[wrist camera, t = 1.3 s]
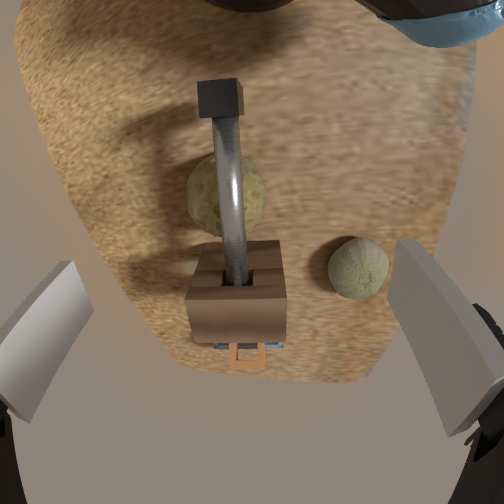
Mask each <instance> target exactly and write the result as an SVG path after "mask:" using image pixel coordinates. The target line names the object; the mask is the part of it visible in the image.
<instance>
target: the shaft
mask: <svg viewBox="0 0 504 504" xmlns="http://www.w3.org/2000/svg"><path fill="white" fill-rule="evenodd" d="M197 88H198V103H199V117H200V118H211V117H212V129H213V142H214V155H215V167H216V179H217V190H218V201H219V212H220V222H221V232H222V242H223V252H224V261H225V270H226V279H227V286H249V275H248V259H247V244H246V228H245V212H244V196H243V180H242V164H241V147H240V130H239V115H244V100H243V87H242V85H241V84H240V82H239V81H238V79H237V78H229V79H218V80H208V81H200V82H197Z"/></svg>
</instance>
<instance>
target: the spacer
mask: <svg viewBox="0 0 504 504" xmlns="http://www.w3.org/2000/svg"><path fill="white" fill-rule="evenodd" d="M229 368H240V369H242V368H265V343H258V360H238V343H229Z"/></svg>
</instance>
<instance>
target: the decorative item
mask: <svg viewBox="0 0 504 504" xmlns="http://www.w3.org/2000/svg"><path fill="white" fill-rule="evenodd" d="M241 164H242V180H243V196H244V212H245V228H246V235H247V234H249V233H250V232H251V231H252V230H253V228H254V226H255V225H256V224H257V223H259V221H260V219H261V217H262V214H263V210H264V207H265V205H266V189H265V183H264V180H263V178H262V176H261V173H260V172H259V171H258V170H257V169H256V168H255V167H254V166H252V164H251V163H250V161H249V160H248V159H247V158H245V157H242V154H241ZM186 199H187V207H188V212H189V215H190V217H191V218H192V219H193V221H194V222H195V224H197V225H198V226H200V227H201V229H203V230H204V231H205V232H208V233H209V234H212V235H214V236H219V237H222V232H221V222H220V212H219V201H218V190H217V179H216V167H215V155H214V154H212V155H210V156H208V157H207V158H204V159H203V160H202V161H201V162H200V163H199V164H198V165H197V166H196V167H195V168H194V170H193V171H192V173H191V174H190V175H189V178H188V182H187V191H186Z"/></svg>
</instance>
